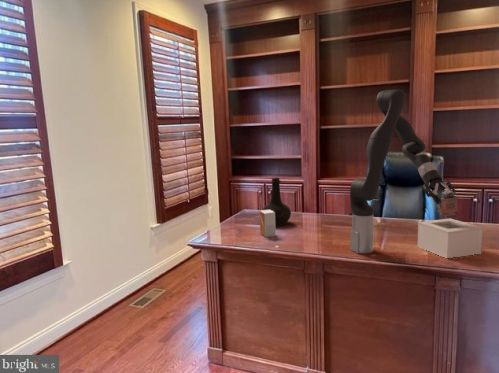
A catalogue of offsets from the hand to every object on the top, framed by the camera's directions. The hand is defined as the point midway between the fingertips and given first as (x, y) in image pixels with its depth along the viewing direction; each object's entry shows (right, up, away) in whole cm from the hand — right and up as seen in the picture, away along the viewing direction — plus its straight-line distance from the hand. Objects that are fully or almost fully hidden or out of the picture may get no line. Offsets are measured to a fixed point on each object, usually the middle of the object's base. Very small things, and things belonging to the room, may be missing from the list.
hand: (447, 202), depth 171 cm
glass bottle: (-72, -16, +59) cm, 95 cm away
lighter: (0, -5, 0) cm, 6 cm away
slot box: (+1, -22, +2) cm, 22 cm away
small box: (-78, -19, +37) cm, 89 cm away
